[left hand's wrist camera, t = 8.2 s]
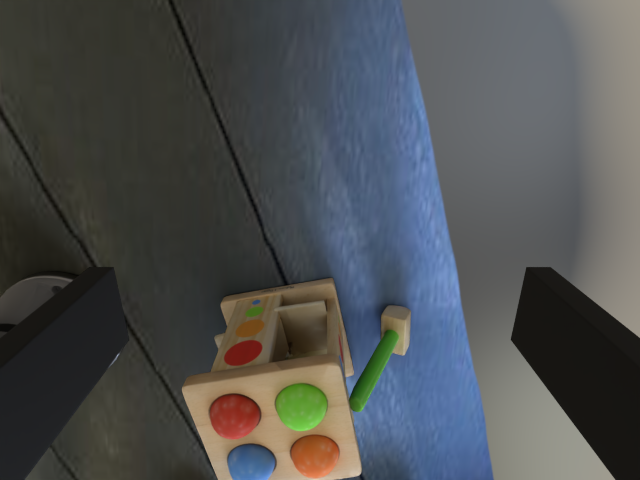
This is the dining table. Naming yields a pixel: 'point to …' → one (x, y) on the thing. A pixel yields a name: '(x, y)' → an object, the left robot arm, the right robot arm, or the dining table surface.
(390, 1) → the dining table surface
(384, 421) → the dining table surface
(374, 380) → the pounding bench toy
